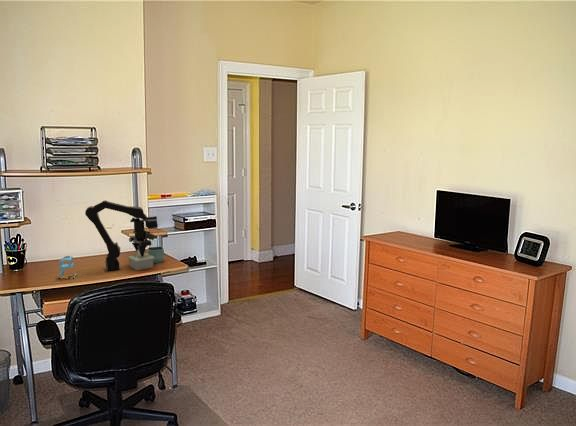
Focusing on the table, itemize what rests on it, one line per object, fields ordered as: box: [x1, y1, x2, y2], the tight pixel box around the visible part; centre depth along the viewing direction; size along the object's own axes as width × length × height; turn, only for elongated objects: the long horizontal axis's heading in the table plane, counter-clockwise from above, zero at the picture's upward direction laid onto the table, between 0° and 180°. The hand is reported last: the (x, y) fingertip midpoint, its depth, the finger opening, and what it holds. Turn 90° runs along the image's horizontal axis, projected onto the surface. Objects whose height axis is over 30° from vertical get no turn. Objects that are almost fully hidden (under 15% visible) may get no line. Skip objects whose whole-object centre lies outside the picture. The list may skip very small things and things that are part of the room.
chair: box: [58, 255, 77, 278], centre depth 281 cm, size 8×8×12 cm
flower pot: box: [147, 245, 165, 264], centre depth 311 cm, size 9×9×9 cm
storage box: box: [129, 258, 154, 271], centre depth 299 cm, size 10×10×6 cm
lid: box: [127, 249, 154, 261], centre depth 298 cm, size 11×11×5 cm
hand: (140, 255), depth 299 cm, fingers closed on lid, 4 cm apart
